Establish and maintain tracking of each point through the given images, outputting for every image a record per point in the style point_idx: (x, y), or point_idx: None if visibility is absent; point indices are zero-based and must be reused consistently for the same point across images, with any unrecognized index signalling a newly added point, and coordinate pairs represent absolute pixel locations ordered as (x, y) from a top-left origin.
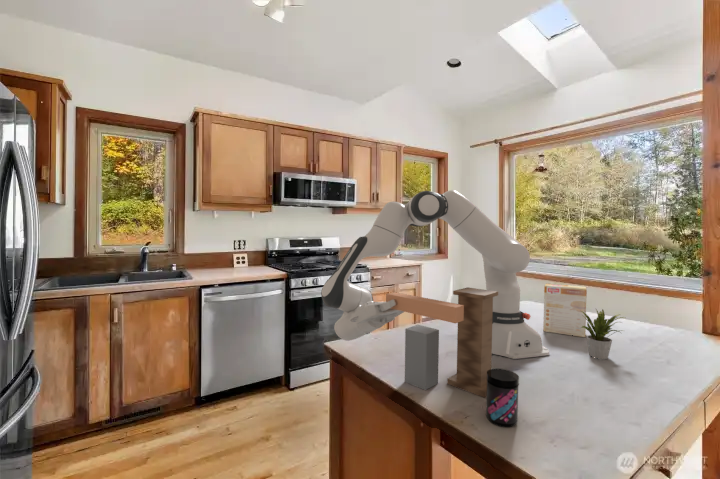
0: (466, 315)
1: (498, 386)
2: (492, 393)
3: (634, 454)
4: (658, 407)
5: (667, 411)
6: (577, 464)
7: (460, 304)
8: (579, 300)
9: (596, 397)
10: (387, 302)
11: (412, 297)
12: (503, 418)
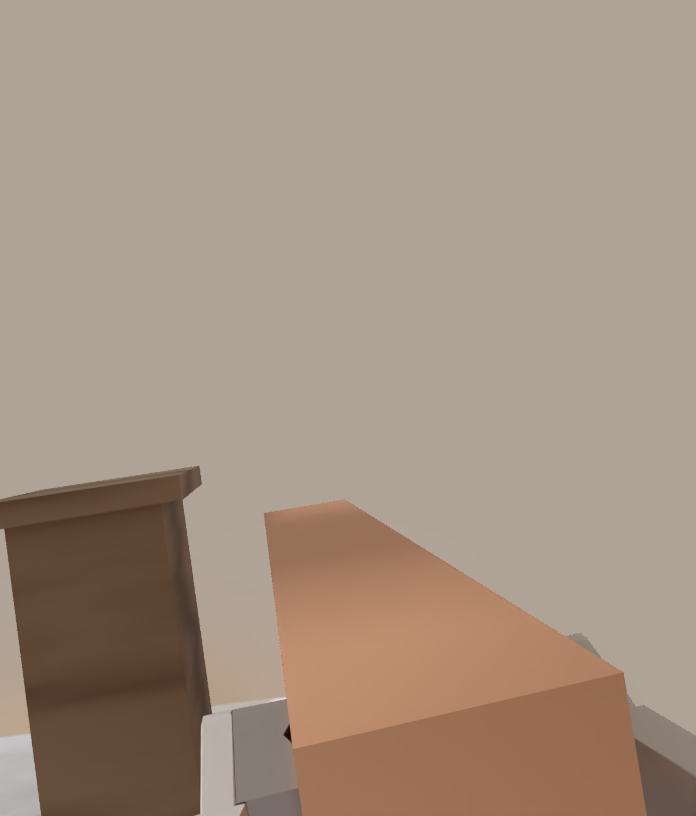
0: (185, 613)
1: None
2: None
3: (270, 699)
4: (3, 752)
5: (19, 741)
6: None
7: (171, 561)
8: None
9: (10, 811)
10: (663, 726)
11: (361, 563)
12: None
